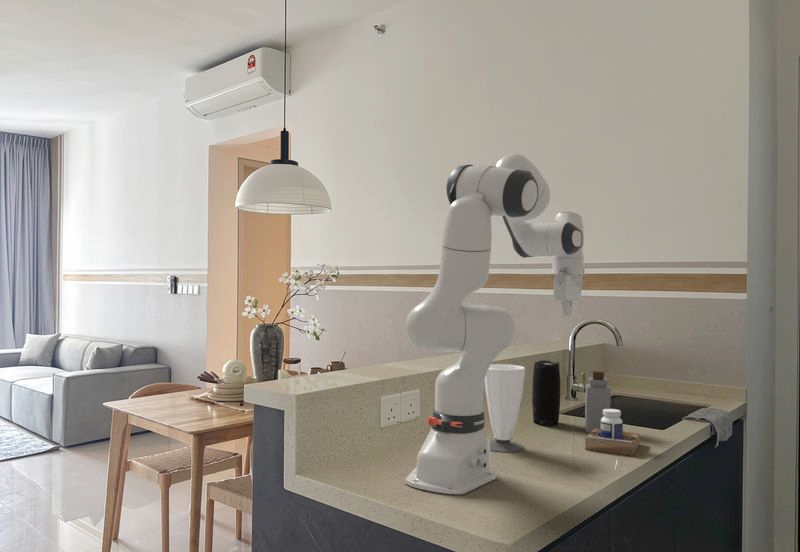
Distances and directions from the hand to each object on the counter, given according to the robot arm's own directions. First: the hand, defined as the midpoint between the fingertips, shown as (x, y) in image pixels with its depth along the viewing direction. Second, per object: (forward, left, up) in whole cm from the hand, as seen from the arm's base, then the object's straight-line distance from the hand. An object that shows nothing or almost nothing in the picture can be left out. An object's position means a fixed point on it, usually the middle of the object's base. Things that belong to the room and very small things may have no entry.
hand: (567, 315), depth 176 cm
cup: (-21, +12, -35) cm, 43 cm away
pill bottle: (-5, -14, -35) cm, 38 cm away
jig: (-5, -14, -35) cm, 38 cm away
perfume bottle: (+12, -7, -35) cm, 38 cm away
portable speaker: (+13, +9, -35) cm, 39 cm away
